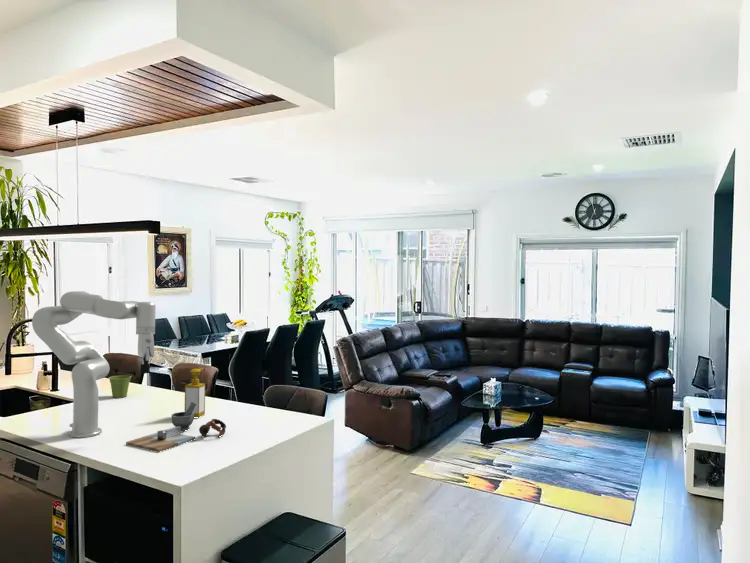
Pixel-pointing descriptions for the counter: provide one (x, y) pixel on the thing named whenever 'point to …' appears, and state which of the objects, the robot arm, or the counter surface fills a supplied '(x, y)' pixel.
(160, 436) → the bar
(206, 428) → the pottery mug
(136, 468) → the counter surface
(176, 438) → the latch board
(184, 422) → the mortar and pestle
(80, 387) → the robot arm
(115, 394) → the plant pot
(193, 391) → the white and gold bottle
